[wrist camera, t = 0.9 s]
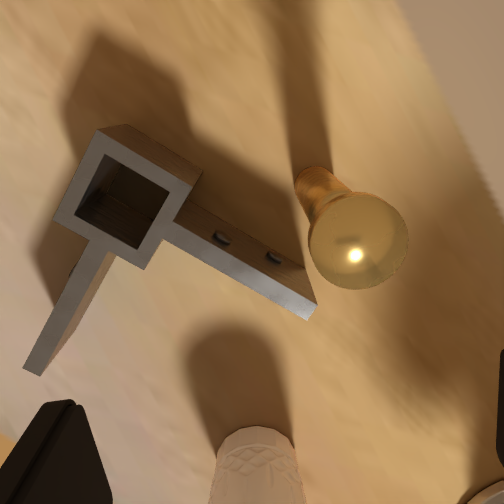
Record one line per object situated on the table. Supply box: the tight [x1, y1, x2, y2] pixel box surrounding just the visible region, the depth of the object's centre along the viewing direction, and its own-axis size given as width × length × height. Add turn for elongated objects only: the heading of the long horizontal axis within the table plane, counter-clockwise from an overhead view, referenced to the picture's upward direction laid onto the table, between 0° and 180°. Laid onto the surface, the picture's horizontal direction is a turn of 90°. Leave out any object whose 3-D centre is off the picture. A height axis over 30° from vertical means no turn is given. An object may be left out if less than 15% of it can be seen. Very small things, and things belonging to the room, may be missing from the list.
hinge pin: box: [295, 166, 408, 290], centre depth 24 cm, size 4×4×13 cm
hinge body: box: [23, 124, 318, 376], centre depth 30 cm, size 16×16×6 cm
